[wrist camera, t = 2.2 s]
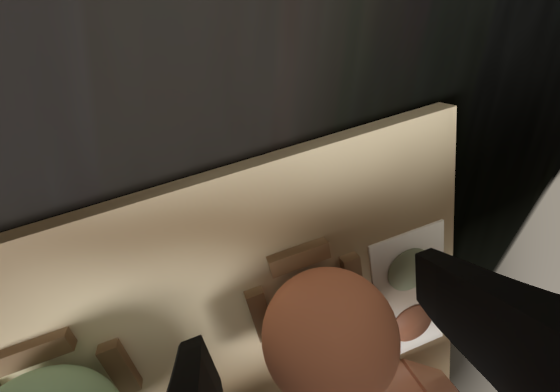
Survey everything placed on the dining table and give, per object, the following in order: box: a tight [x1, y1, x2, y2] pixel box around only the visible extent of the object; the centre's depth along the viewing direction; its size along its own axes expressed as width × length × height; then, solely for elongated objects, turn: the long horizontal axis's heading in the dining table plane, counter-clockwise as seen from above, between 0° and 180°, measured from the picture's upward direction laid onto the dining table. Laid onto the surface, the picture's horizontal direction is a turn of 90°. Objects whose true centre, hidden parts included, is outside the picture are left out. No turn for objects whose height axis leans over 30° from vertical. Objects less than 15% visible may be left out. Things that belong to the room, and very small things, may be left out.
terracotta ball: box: [261, 267, 401, 392], centre depth 10 cm, size 4×4×4 cm
